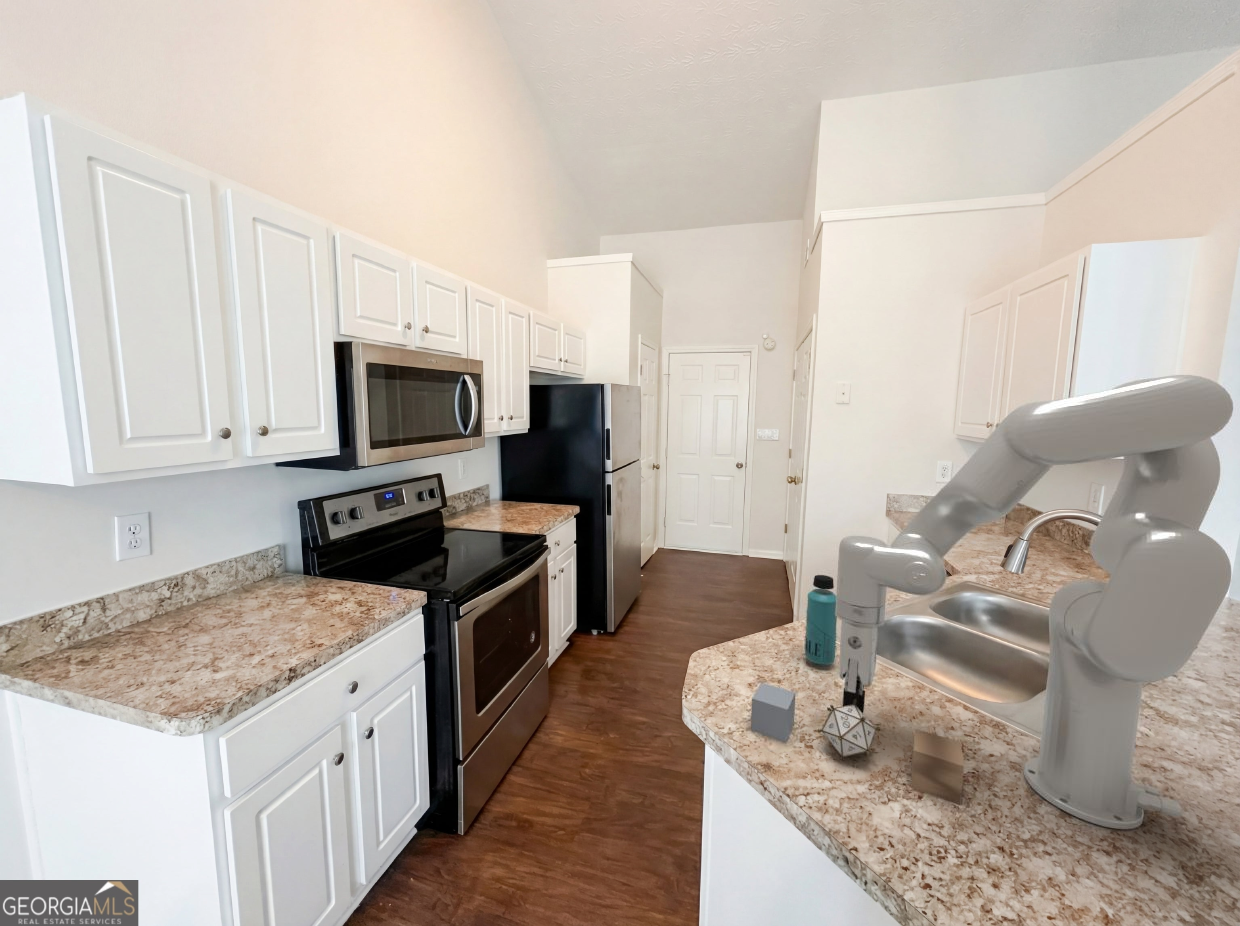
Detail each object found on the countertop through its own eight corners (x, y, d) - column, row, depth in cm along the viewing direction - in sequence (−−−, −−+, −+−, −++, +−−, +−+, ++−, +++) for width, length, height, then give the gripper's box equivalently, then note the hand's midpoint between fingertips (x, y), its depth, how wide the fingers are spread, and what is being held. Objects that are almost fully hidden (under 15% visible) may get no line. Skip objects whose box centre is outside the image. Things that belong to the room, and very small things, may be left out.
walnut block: (957, 779, 73) (960, 742, 73) (960, 805, 68) (963, 766, 68) (911, 763, 77) (914, 728, 76) (910, 788, 72) (913, 750, 71)
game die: (858, 781, 78) (894, 760, 71) (807, 755, 79) (837, 732, 72) (858, 727, 84) (890, 703, 78) (810, 704, 86) (838, 679, 79)
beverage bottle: (837, 662, 108) (842, 575, 106) (832, 675, 103) (837, 583, 101) (806, 654, 112) (811, 569, 110) (800, 666, 106) (805, 577, 104)
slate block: (793, 724, 86) (795, 692, 85) (785, 743, 81) (787, 709, 80) (760, 713, 89) (761, 682, 89) (750, 730, 84) (751, 698, 83)
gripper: (881, 631, 74) (873, 743, 76) (887, 600, 86) (881, 698, 88) (828, 619, 78) (822, 726, 80) (842, 592, 90) (836, 685, 92)
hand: (853, 711), depth 84 cm, fingers closed
